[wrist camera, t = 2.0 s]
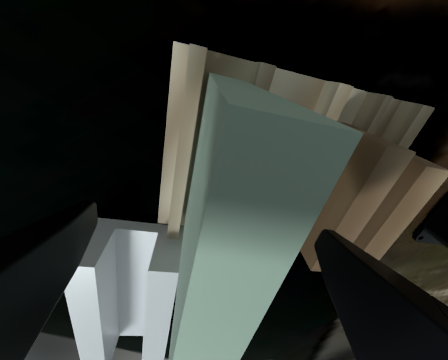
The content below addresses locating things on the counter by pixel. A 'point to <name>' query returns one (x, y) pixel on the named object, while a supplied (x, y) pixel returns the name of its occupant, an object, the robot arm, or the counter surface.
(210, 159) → the green sheet
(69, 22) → the counter surface
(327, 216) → the middle offcut
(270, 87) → the birch rack
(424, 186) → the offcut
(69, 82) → the counter surface
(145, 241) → the grey slotted stand
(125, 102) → the counter surface
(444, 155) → the counter surface
